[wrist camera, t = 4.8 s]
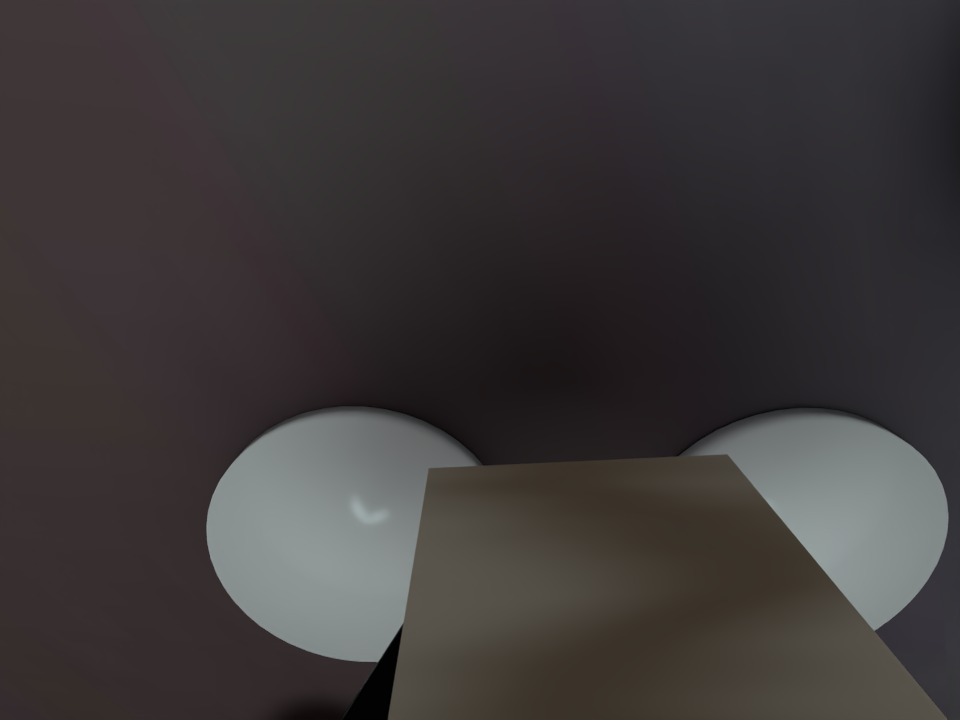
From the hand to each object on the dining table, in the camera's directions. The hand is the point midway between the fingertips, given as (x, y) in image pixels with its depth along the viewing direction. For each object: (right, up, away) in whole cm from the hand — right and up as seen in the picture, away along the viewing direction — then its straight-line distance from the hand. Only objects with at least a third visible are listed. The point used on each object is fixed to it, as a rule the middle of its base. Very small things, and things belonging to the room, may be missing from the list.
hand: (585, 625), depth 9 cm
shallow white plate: (+11, -3, +13) cm, 17 cm away
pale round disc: (-6, -3, +13) cm, 15 cm away
